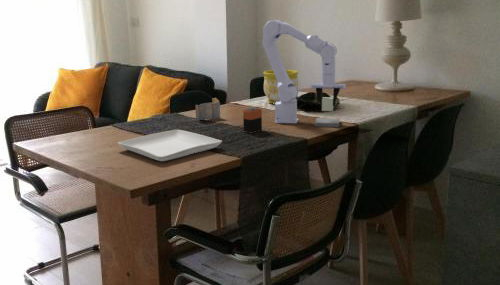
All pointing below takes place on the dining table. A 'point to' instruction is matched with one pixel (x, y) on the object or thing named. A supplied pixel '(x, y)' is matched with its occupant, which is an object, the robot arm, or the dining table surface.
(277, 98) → the flowerpot
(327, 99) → the block
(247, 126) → the battery
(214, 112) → the ruin model on sheet
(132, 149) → the square plate
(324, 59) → the robot arm
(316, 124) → the trivet
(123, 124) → the dining table surface
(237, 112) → the dining table surface
